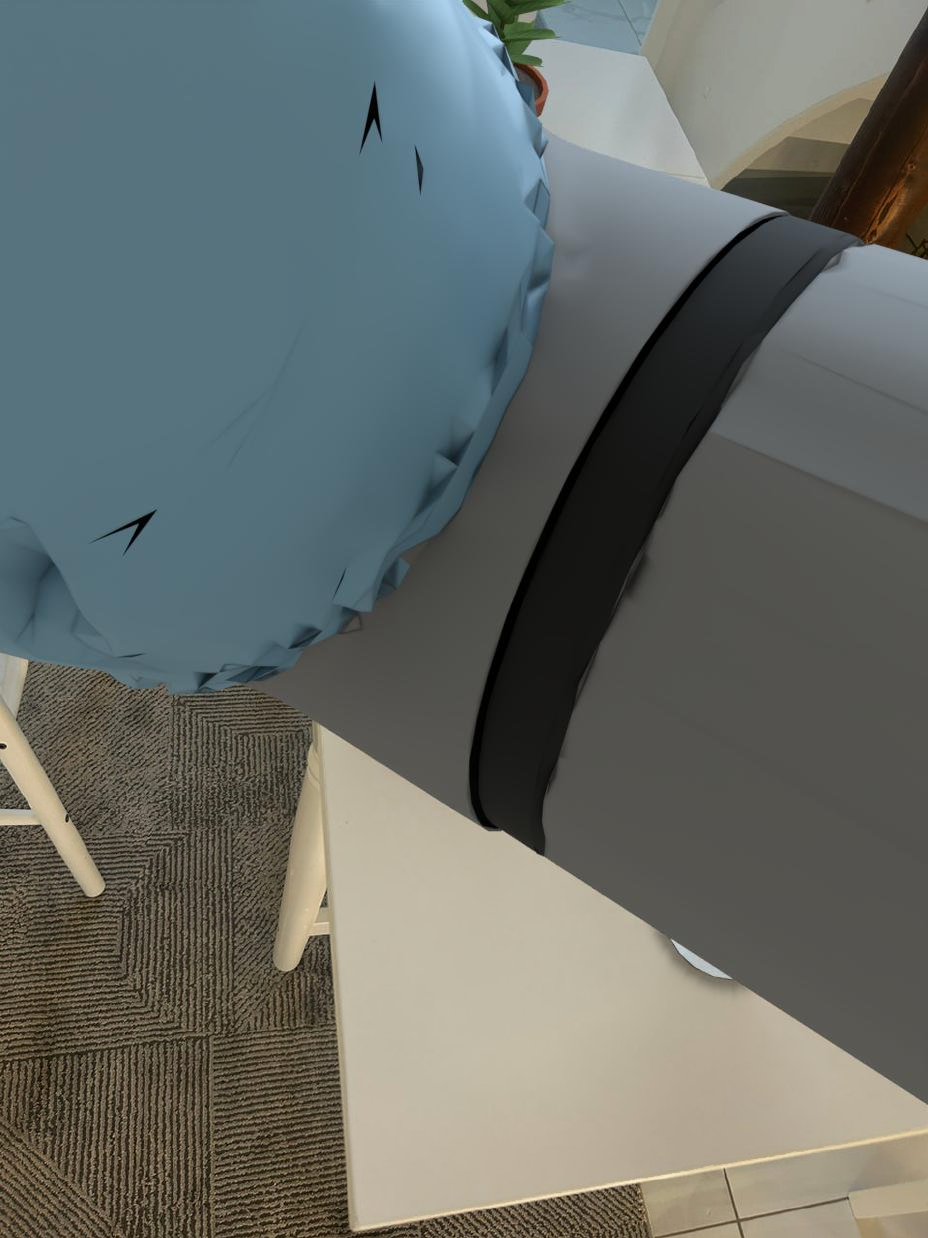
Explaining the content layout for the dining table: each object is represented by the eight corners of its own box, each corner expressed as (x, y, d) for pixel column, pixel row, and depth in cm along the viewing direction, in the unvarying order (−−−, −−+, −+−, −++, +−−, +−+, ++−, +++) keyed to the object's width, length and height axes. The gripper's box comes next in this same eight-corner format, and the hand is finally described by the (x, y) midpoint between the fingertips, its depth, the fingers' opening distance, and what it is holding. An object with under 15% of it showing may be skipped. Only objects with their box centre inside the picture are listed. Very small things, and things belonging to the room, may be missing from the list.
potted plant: (390, 132, 121) (438, -157, 97) (467, 102, 129) (528, -172, 105) (480, 195, 117) (552, -89, 93) (553, 159, 126) (637, -110, 102)
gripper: (152, 321, 27) (447, 485, 46) (848, 1102, 19) (848, 901, 39) (330, 97, 25) (557, 365, 45) (1167, 845, 17) (997, 772, 37)
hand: (691, 613), depth 42 cm, fingers open, 13 cm apart
